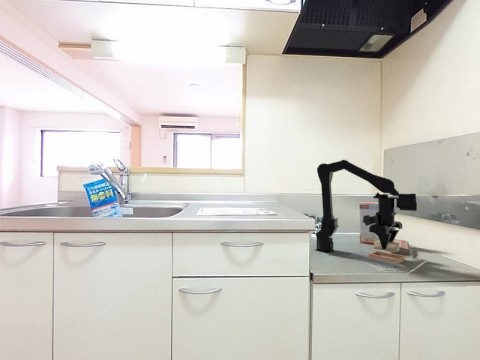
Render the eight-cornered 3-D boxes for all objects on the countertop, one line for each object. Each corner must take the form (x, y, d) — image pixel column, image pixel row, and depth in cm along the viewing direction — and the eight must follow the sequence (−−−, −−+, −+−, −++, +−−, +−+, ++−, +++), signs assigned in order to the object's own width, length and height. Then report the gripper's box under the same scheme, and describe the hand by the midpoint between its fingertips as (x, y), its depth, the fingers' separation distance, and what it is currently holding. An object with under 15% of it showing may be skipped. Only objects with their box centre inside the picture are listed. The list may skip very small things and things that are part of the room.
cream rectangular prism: (395, 252, 103) (395, 244, 103) (373, 248, 109) (373, 241, 109) (399, 250, 106) (399, 243, 106) (378, 246, 112) (378, 239, 112)
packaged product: (387, 237, 128) (412, 240, 123) (387, 247, 128) (412, 250, 123) (385, 245, 113) (413, 248, 107) (385, 256, 113) (413, 260, 107)
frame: (368, 257, 109) (368, 253, 109) (376, 254, 114) (376, 250, 114) (398, 263, 101) (398, 259, 101) (405, 259, 106) (405, 256, 106)
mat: (343, 258, 109) (343, 257, 109) (360, 251, 119) (360, 250, 119) (391, 269, 96) (391, 267, 96) (405, 260, 106) (405, 259, 106)
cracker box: (391, 243, 134) (391, 202, 134) (390, 246, 129) (390, 203, 129) (361, 240, 141) (361, 201, 141) (359, 242, 136) (359, 202, 136)
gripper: (375, 206, 120) (375, 241, 119) (356, 209, 107) (356, 248, 107) (402, 208, 111) (402, 245, 111) (385, 212, 99) (385, 253, 99)
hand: (386, 248), depth 107 cm, fingers closed on cream rectangular prism, 4 cm apart
